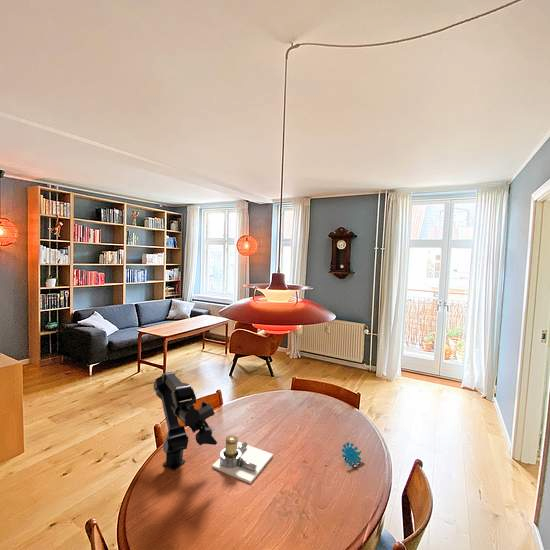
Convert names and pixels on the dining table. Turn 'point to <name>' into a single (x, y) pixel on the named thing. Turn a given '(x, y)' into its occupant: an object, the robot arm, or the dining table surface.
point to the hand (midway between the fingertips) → (213, 437)
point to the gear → (351, 454)
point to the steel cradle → (236, 459)
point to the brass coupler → (231, 446)
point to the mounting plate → (250, 456)
